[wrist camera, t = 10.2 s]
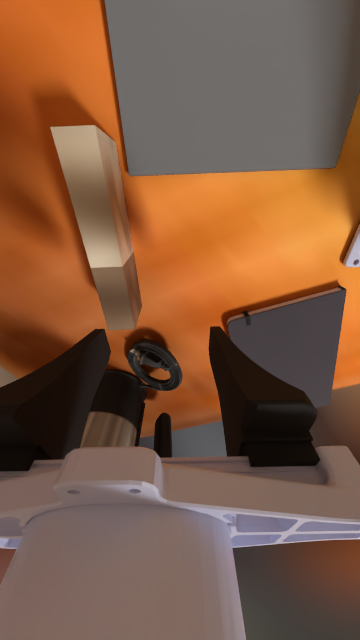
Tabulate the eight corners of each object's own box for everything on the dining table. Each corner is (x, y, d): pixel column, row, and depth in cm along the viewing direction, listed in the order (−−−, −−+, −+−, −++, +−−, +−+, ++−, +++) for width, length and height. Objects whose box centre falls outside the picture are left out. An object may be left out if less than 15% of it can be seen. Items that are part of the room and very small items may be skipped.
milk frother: (90, 406, 33) (36, 538, 20) (69, 329, 24) (-48, 476, 12) (175, 409, 33) (174, 538, 21) (184, 336, 25) (192, 480, 12)
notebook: (323, 396, 33) (336, 283, 22) (329, 405, 31) (347, 289, 20) (247, 411, 35) (223, 314, 24) (250, 420, 34) (226, 322, 22)
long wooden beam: (142, 306, 22) (134, 329, 19) (120, 306, 22) (108, 330, 19) (115, 142, 15) (94, 125, 11) (82, 143, 15) (50, 127, 11)
